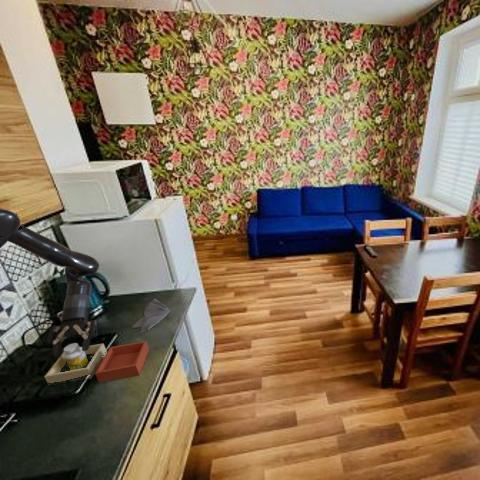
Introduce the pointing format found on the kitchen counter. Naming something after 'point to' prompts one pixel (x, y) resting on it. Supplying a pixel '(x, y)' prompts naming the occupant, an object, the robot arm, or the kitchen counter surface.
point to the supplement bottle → (75, 356)
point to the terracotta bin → (122, 361)
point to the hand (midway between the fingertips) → (70, 352)
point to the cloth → (152, 315)
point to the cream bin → (91, 368)
